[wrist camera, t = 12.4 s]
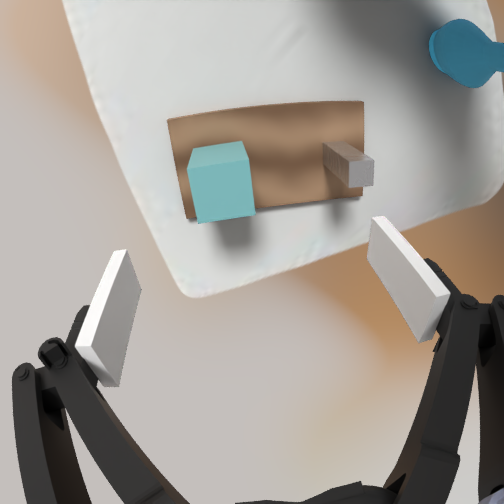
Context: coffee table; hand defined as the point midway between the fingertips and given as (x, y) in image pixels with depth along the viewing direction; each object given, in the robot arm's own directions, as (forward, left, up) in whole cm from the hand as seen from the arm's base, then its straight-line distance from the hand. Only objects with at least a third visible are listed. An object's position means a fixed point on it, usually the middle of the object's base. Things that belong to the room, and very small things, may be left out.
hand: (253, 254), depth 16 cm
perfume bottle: (-13, +29, -22) cm, 39 cm away
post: (+1, +11, -20) cm, 23 cm away
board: (+1, +4, -21) cm, 22 cm away
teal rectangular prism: (+1, -2, -19) cm, 19 cm away
